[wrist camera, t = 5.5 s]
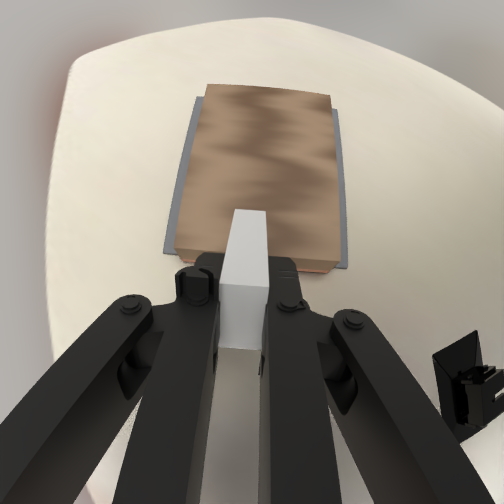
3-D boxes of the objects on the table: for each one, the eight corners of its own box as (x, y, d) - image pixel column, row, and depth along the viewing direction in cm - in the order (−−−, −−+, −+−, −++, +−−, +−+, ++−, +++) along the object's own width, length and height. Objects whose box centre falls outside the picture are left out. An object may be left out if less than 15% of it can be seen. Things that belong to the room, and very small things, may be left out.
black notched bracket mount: (489, 433, 18) (520, 440, 13) (431, 471, 17) (461, 487, 13) (475, 313, 21) (509, 305, 17) (414, 341, 20) (449, 338, 16)
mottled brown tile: (327, 273, 21) (322, 118, 25) (340, 261, 18) (330, 95, 22) (182, 261, 21) (210, 107, 25) (173, 247, 18) (207, 84, 22)
